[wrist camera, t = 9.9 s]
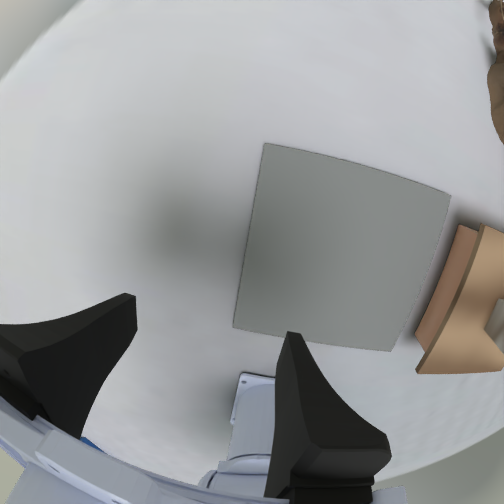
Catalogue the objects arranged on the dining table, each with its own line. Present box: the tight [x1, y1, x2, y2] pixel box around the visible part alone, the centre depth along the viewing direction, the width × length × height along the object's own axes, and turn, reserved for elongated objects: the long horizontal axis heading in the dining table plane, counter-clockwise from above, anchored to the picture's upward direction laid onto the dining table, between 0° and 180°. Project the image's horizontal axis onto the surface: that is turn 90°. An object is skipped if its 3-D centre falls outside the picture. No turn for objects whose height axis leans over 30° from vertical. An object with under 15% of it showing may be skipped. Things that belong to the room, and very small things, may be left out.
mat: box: [233, 143, 451, 352], centre depth 20 cm, size 15×15×1 cm
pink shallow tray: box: [415, 224, 478, 352], centre depth 18 cm, size 11×11×4 cm
